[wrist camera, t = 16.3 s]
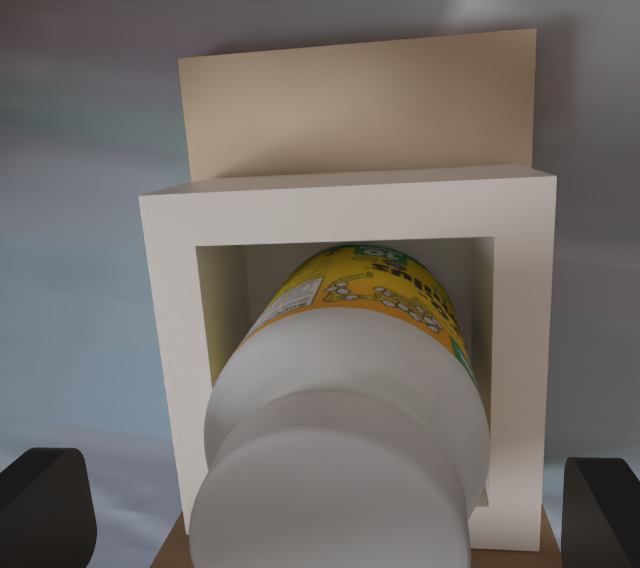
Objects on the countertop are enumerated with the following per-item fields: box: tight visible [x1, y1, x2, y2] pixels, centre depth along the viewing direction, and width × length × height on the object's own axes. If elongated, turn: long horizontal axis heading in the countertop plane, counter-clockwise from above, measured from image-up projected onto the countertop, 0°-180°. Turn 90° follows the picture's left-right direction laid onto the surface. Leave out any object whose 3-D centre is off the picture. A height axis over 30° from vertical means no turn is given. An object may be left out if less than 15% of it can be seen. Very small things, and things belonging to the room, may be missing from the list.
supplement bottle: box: [189, 242, 490, 568], centre depth 12 cm, size 5×5×10 cm
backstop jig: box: [150, 28, 563, 568], centre depth 15 cm, size 14×10×8 cm
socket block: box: [138, 163, 557, 551], centre depth 15 cm, size 9×9×4 cm
